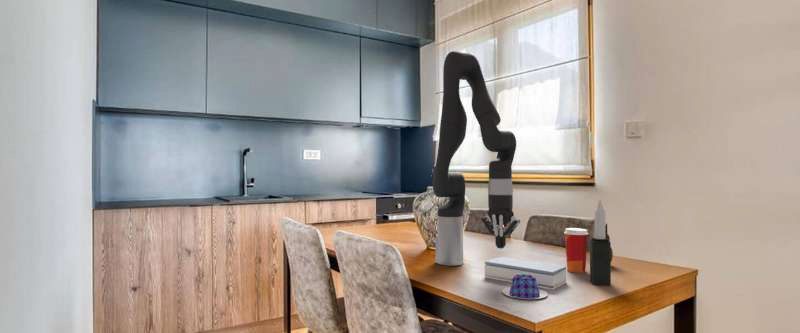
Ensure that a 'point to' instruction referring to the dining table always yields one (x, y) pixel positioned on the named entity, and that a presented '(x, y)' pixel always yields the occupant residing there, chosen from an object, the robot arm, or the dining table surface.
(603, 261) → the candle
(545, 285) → the grey lidded box
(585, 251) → the paper cup
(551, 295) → the dining table surface
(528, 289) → the pudding
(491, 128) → the robot arm
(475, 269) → the dining table surface
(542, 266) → the lid
